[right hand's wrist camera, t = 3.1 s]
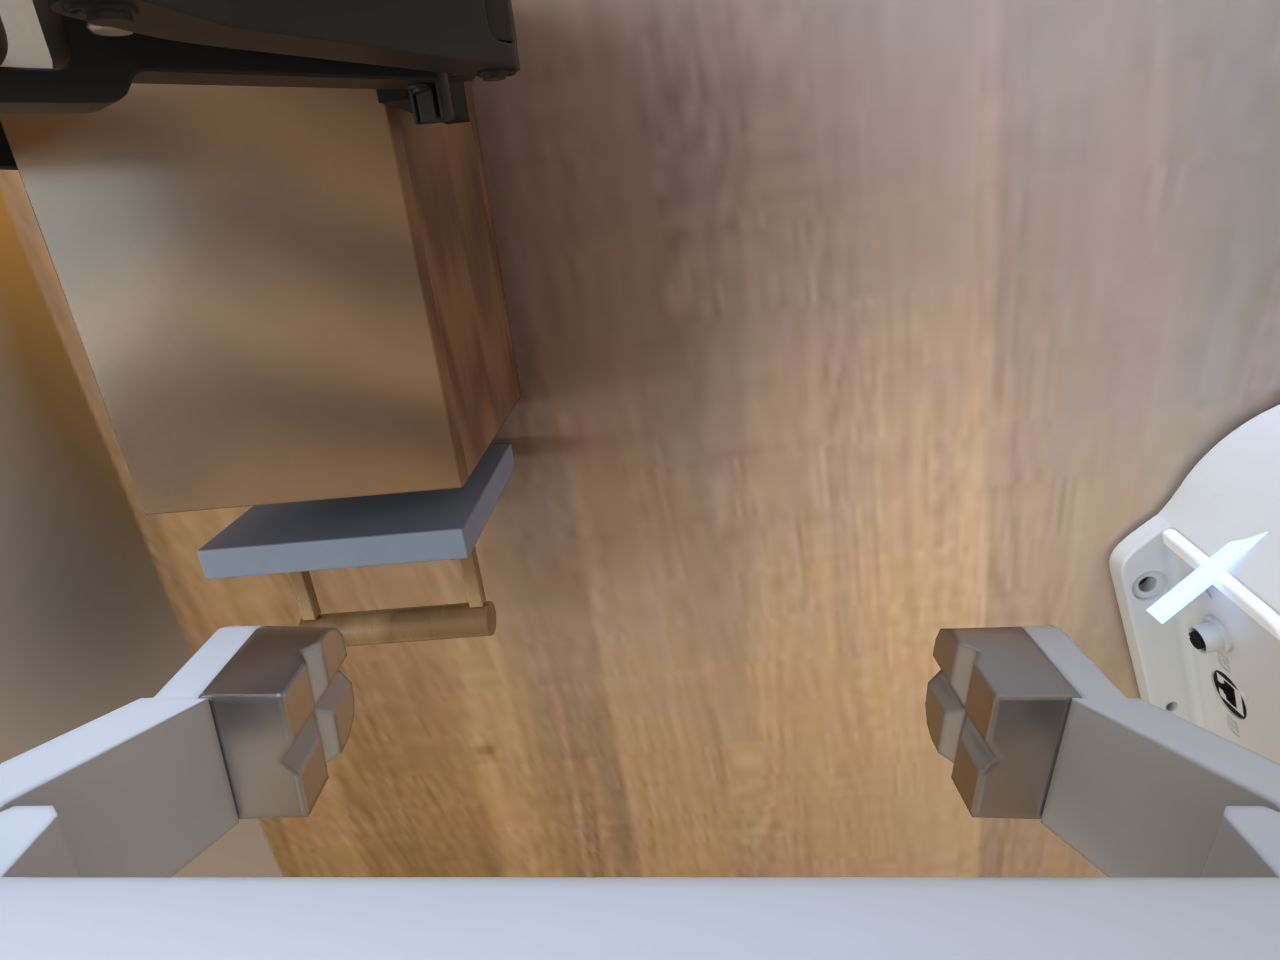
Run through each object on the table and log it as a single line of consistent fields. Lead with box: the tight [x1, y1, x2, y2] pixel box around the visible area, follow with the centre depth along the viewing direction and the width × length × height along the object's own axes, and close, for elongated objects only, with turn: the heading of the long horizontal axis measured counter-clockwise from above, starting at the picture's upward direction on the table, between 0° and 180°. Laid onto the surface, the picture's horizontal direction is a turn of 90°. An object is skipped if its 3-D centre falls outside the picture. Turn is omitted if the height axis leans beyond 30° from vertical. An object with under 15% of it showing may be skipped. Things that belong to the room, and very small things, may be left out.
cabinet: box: [0, 0, 521, 515], centre depth 28 cm, size 16×11×12 cm
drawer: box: [197, 443, 515, 646], centre depth 30 cm, size 21×10×10 cm, turn 6°
